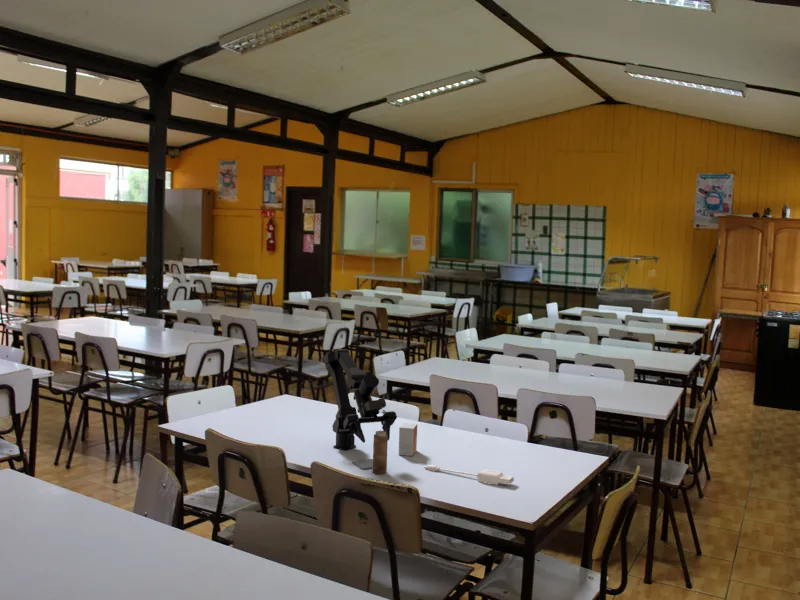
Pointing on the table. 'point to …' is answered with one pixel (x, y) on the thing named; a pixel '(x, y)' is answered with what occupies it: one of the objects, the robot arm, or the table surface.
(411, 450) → the small box
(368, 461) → the coaster
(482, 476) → the charging cable
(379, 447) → the pepper mill
